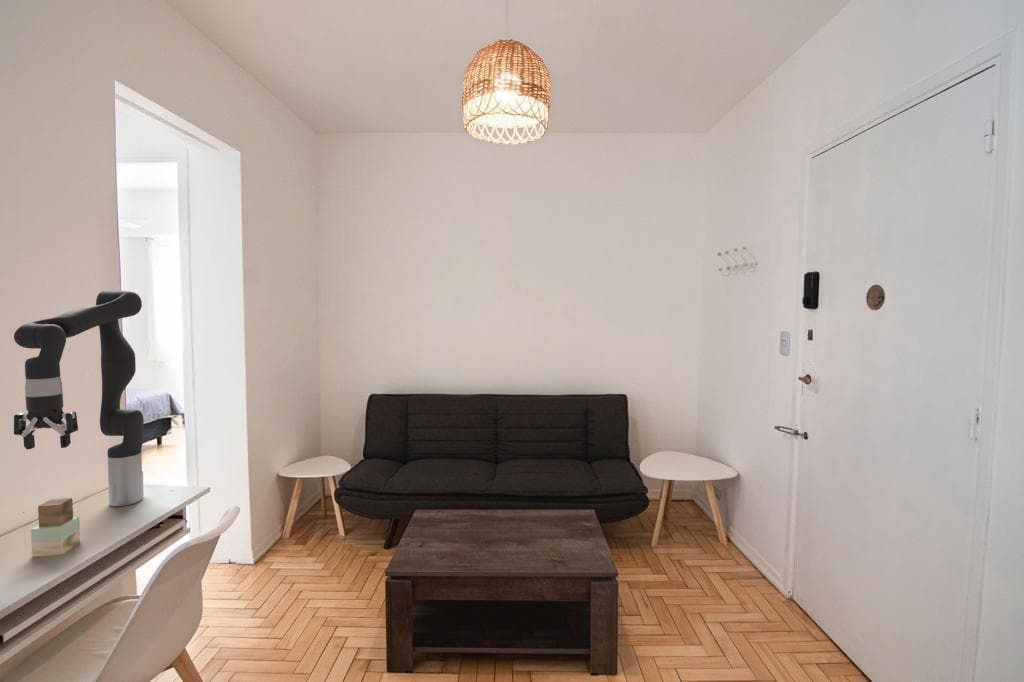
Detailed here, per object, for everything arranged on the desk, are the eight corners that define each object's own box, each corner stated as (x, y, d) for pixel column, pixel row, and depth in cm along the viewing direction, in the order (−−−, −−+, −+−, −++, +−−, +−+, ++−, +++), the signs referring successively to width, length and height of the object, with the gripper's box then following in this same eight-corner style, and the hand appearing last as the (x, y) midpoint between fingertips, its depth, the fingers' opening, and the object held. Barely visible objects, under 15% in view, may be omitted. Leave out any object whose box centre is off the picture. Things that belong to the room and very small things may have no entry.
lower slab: (52, 544, 133) (51, 531, 133) (80, 542, 134) (79, 529, 134) (32, 557, 126) (31, 543, 126) (61, 555, 127) (61, 541, 127)
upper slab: (51, 531, 133) (51, 518, 132) (79, 529, 134) (79, 516, 134) (31, 543, 126) (30, 529, 126) (61, 541, 127) (60, 527, 127)
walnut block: (52, 519, 132) (51, 499, 131) (73, 517, 133) (72, 497, 132) (38, 527, 127) (38, 506, 126) (60, 525, 128) (59, 504, 128)
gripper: (82, 390, 137) (85, 443, 138) (25, 391, 134) (29, 445, 135) (63, 395, 129) (66, 451, 131) (3, 396, 126) (7, 453, 128)
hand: (47, 447), depth 133 cm, fingers open, 8 cm apart
